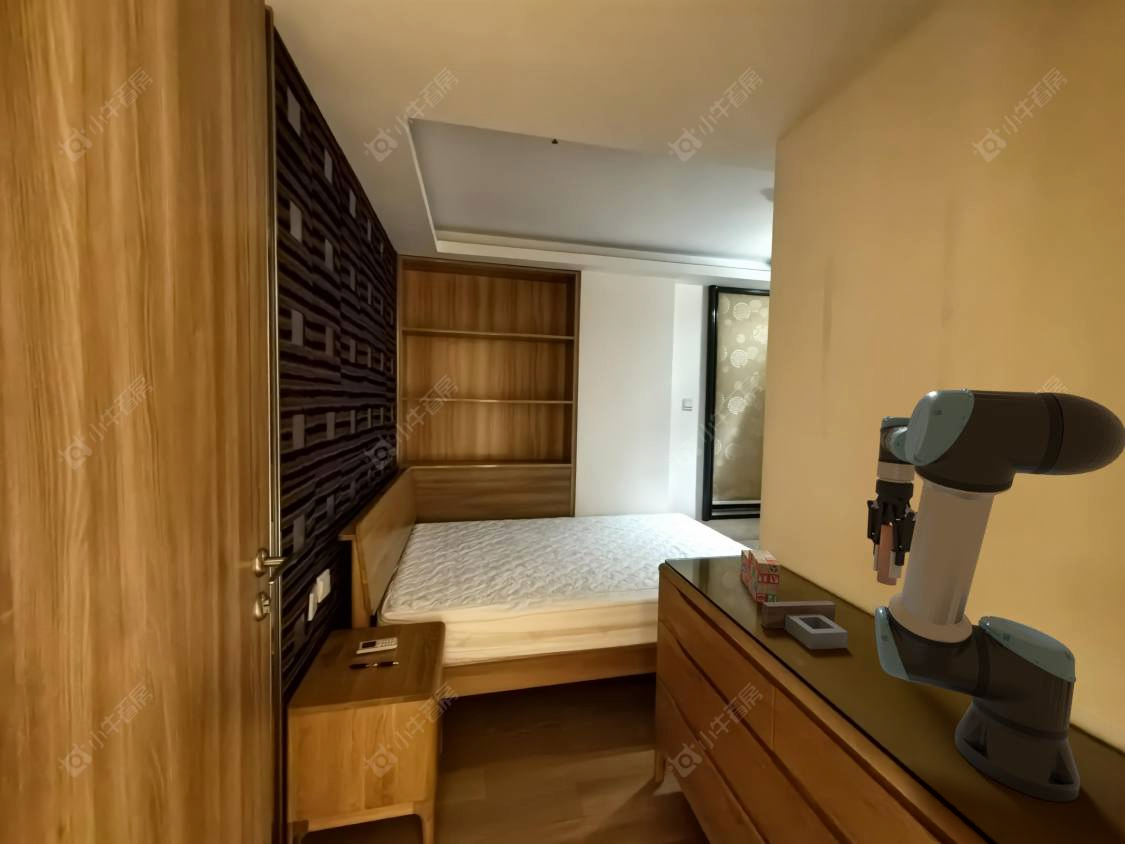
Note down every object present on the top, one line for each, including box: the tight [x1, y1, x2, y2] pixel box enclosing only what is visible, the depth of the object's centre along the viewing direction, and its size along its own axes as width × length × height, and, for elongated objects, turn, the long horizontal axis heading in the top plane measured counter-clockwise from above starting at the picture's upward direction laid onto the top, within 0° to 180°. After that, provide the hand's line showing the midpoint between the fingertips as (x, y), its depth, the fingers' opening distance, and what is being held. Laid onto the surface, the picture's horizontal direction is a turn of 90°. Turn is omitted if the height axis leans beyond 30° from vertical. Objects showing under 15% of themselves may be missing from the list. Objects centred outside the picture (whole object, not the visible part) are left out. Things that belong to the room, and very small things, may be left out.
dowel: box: [876, 524, 898, 587], centre depth 115 cm, size 4×4×14 cm
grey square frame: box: [784, 613, 849, 651], centre depth 120 cm, size 10×10×4 cm
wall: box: [760, 600, 837, 629], centre depth 126 cm, size 2×20×6 cm, turn 99°
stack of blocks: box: [739, 549, 781, 604], centre depth 150 cm, size 21×6×12 cm, turn 172°
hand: (886, 573), depth 116 cm, fingers closed on dowel, 4 cm apart
